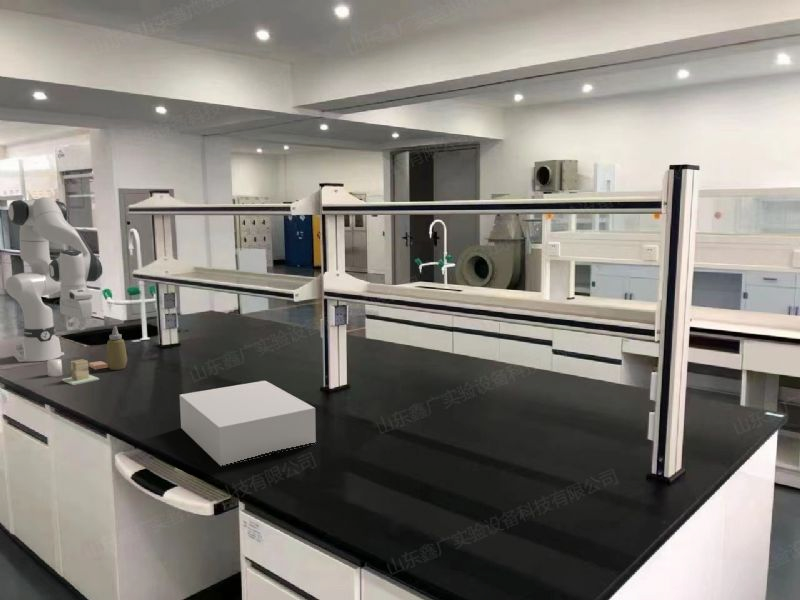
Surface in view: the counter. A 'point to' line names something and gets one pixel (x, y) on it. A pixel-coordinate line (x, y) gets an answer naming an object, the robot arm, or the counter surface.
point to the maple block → (79, 370)
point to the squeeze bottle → (116, 351)
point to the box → (246, 420)
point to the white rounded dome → (54, 367)
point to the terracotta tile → (98, 365)
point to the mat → (74, 382)
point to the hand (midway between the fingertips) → (76, 328)
